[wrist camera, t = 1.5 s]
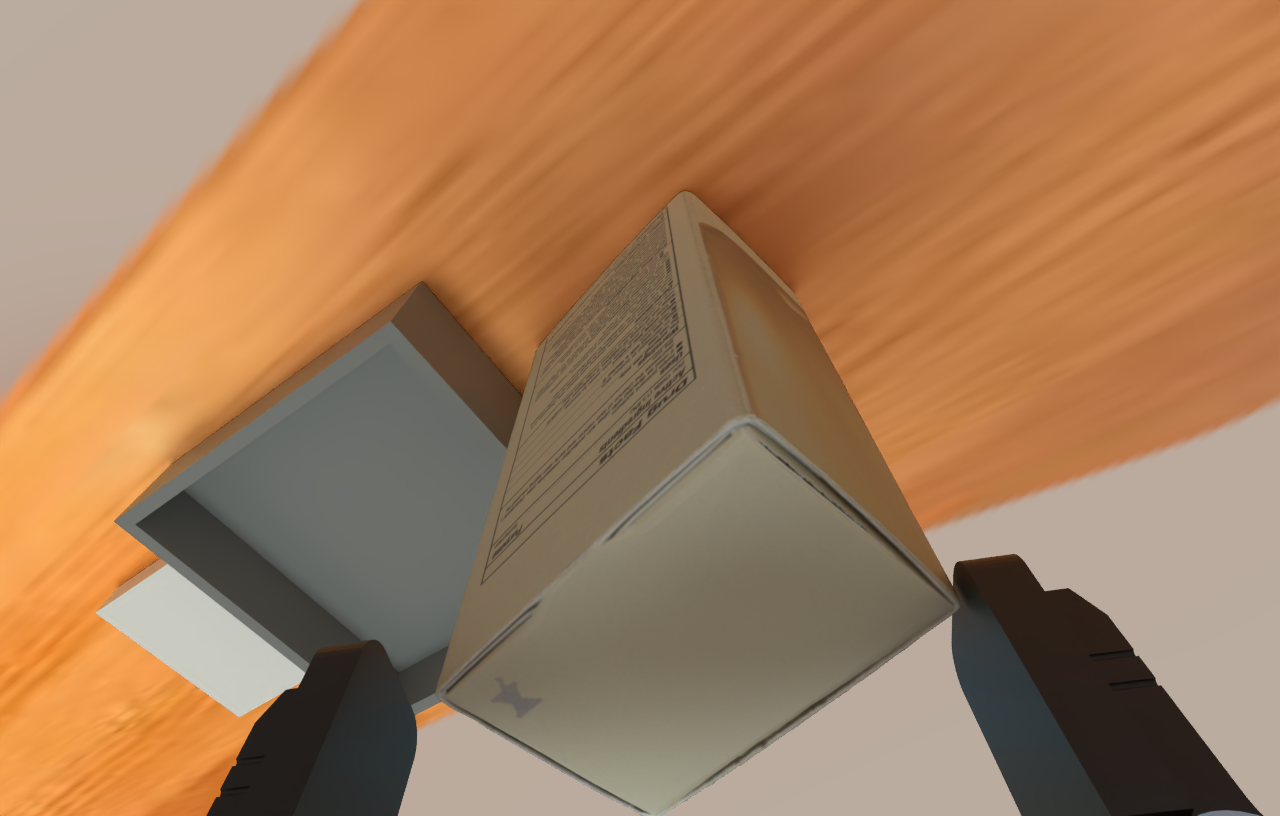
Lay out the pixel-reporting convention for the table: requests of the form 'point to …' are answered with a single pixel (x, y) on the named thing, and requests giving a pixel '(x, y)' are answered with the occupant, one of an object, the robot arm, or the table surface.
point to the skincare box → (684, 530)
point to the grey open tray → (327, 514)
